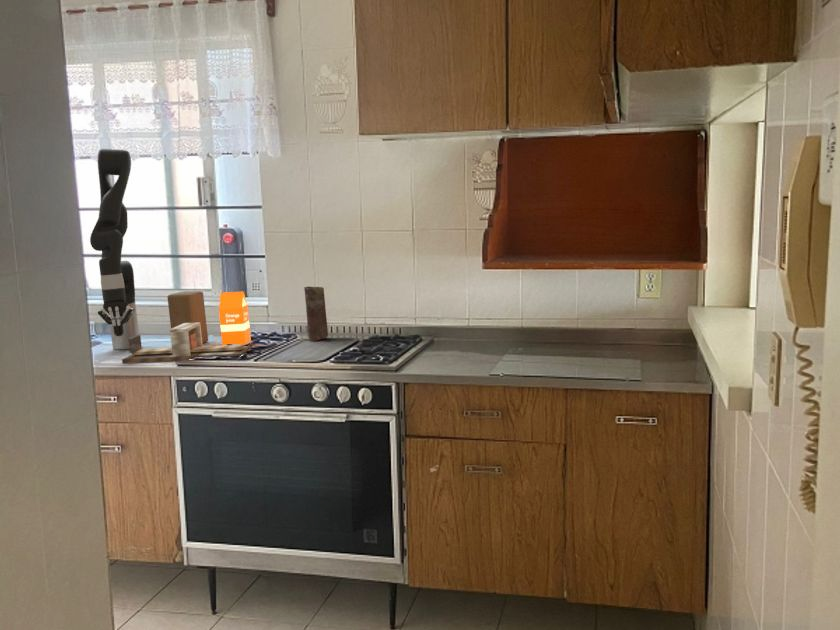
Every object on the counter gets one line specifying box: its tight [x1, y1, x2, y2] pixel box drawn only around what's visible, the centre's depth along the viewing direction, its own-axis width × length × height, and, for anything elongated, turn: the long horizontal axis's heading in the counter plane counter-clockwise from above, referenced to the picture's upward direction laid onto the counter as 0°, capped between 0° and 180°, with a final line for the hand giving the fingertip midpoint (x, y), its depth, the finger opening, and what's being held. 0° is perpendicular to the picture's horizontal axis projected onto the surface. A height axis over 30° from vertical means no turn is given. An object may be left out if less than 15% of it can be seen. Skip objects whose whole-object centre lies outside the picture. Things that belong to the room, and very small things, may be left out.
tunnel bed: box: [121, 322, 253, 365], centre depth 280 cm, size 42×14×11 cm, turn 85°
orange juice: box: [218, 291, 252, 345], centre depth 295 cm, size 8×9×20 cm
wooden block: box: [167, 290, 209, 345], centre depth 303 cm, size 10×10×20 cm
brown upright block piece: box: [303, 286, 329, 342], centre depth 297 cm, size 8×7×20 cm
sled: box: [128, 333, 244, 355], centre depth 280 cm, size 39×7×6 cm, turn 85°
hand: (119, 335), depth 281 cm, fingers closed
